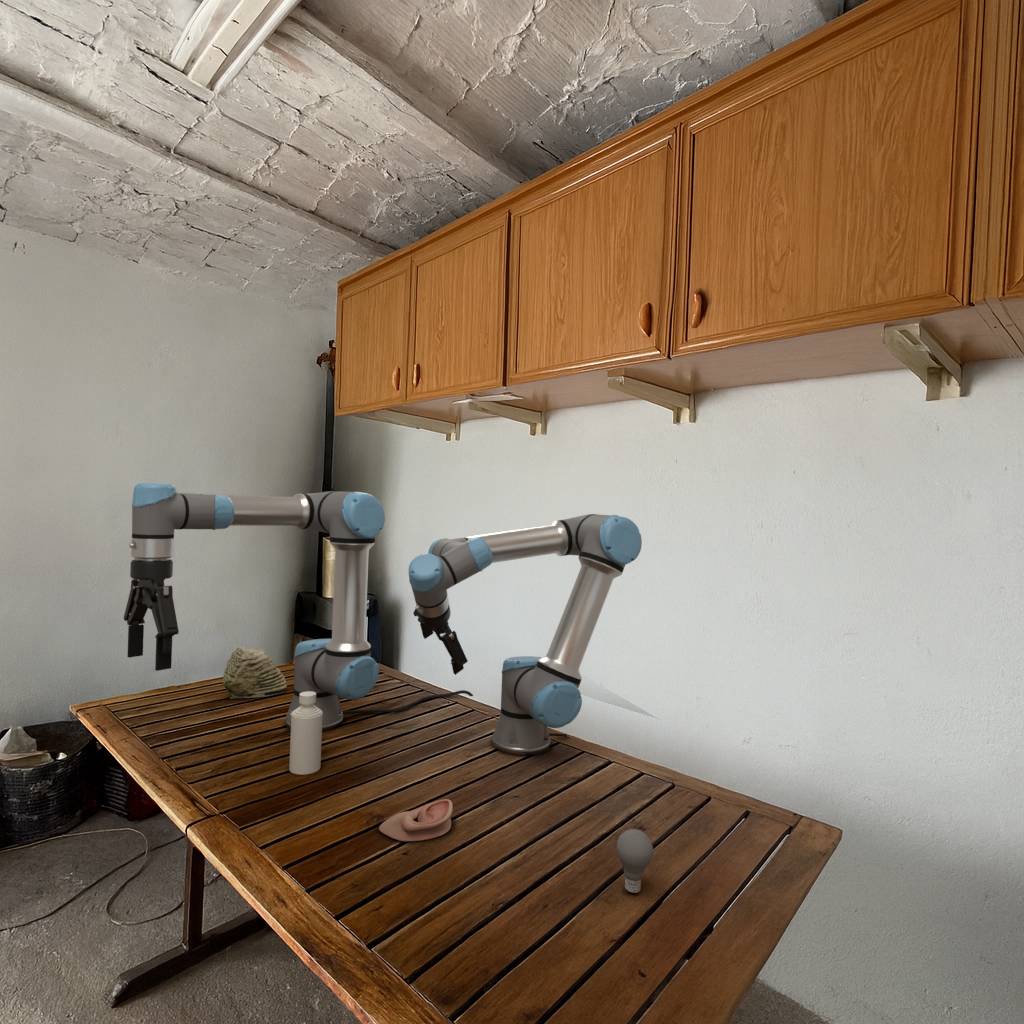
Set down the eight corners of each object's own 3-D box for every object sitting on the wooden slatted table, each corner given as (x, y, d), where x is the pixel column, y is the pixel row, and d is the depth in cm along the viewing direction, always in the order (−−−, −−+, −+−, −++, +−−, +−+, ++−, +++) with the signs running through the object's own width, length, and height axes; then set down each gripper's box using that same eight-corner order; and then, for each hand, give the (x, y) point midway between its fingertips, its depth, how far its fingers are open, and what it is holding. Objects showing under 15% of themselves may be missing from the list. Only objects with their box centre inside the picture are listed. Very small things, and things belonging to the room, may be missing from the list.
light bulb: (610, 879, 108) (613, 822, 108) (644, 879, 109) (647, 822, 109) (619, 902, 102) (622, 840, 102) (655, 901, 103) (658, 840, 103)
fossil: (218, 695, 195) (220, 647, 195) (278, 685, 208) (279, 640, 207) (228, 703, 189) (230, 653, 188) (289, 692, 201) (290, 645, 201)
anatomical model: (372, 815, 119) (396, 788, 130) (371, 836, 119) (395, 808, 130) (440, 826, 116) (458, 797, 127) (439, 847, 116) (457, 817, 127)
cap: (300, 699, 148) (300, 691, 148) (316, 699, 149) (316, 691, 149) (298, 704, 145) (298, 696, 145) (315, 704, 146) (315, 696, 146)
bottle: (291, 762, 150) (294, 691, 150) (321, 761, 151) (324, 690, 151) (287, 775, 143) (290, 700, 143) (319, 773, 145) (321, 699, 144)
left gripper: (108, 554, 134) (104, 654, 134) (159, 565, 118) (155, 678, 119) (146, 552, 140) (143, 648, 140) (199, 563, 124) (195, 671, 124)
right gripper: (391, 581, 153) (404, 629, 169) (450, 650, 140) (459, 695, 155) (417, 565, 156) (428, 613, 172) (478, 631, 143) (484, 677, 158)
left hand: (148, 662), depth 129 cm, fingers open, 13 cm apart
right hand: (443, 652), depth 164 cm, fingers open, 13 cm apart
